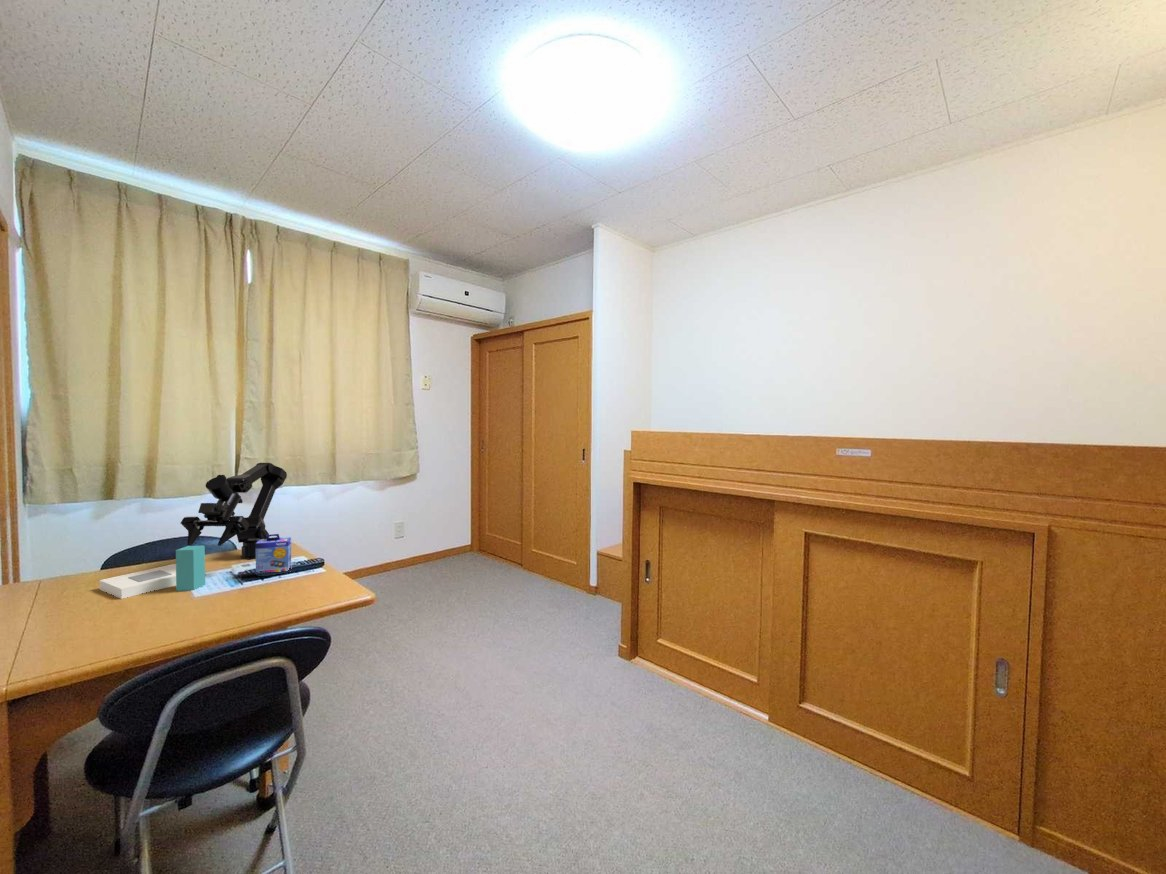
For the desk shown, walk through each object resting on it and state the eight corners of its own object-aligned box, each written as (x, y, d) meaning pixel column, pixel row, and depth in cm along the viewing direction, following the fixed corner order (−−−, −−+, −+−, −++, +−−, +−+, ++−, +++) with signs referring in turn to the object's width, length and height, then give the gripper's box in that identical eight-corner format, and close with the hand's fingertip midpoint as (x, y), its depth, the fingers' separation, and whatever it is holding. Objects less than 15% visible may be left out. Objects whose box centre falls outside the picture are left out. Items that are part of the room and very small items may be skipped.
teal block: (188, 585, 145) (187, 545, 144) (205, 584, 145) (204, 545, 145) (176, 591, 140) (175, 550, 139) (193, 590, 140) (193, 549, 140)
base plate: (179, 571, 158) (179, 562, 158) (202, 578, 151) (202, 569, 151) (99, 589, 140) (99, 579, 140) (121, 598, 133) (121, 588, 133)
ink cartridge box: (254, 578, 152) (254, 536, 151) (258, 573, 157) (258, 532, 156) (289, 574, 156) (288, 533, 156) (291, 569, 161) (291, 530, 161)
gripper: (184, 493, 152) (158, 533, 141) (243, 492, 154) (222, 532, 144) (201, 511, 160) (177, 550, 149) (257, 511, 162) (238, 549, 152)
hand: (203, 545), depth 148 cm, fingers open, 9 cm apart
